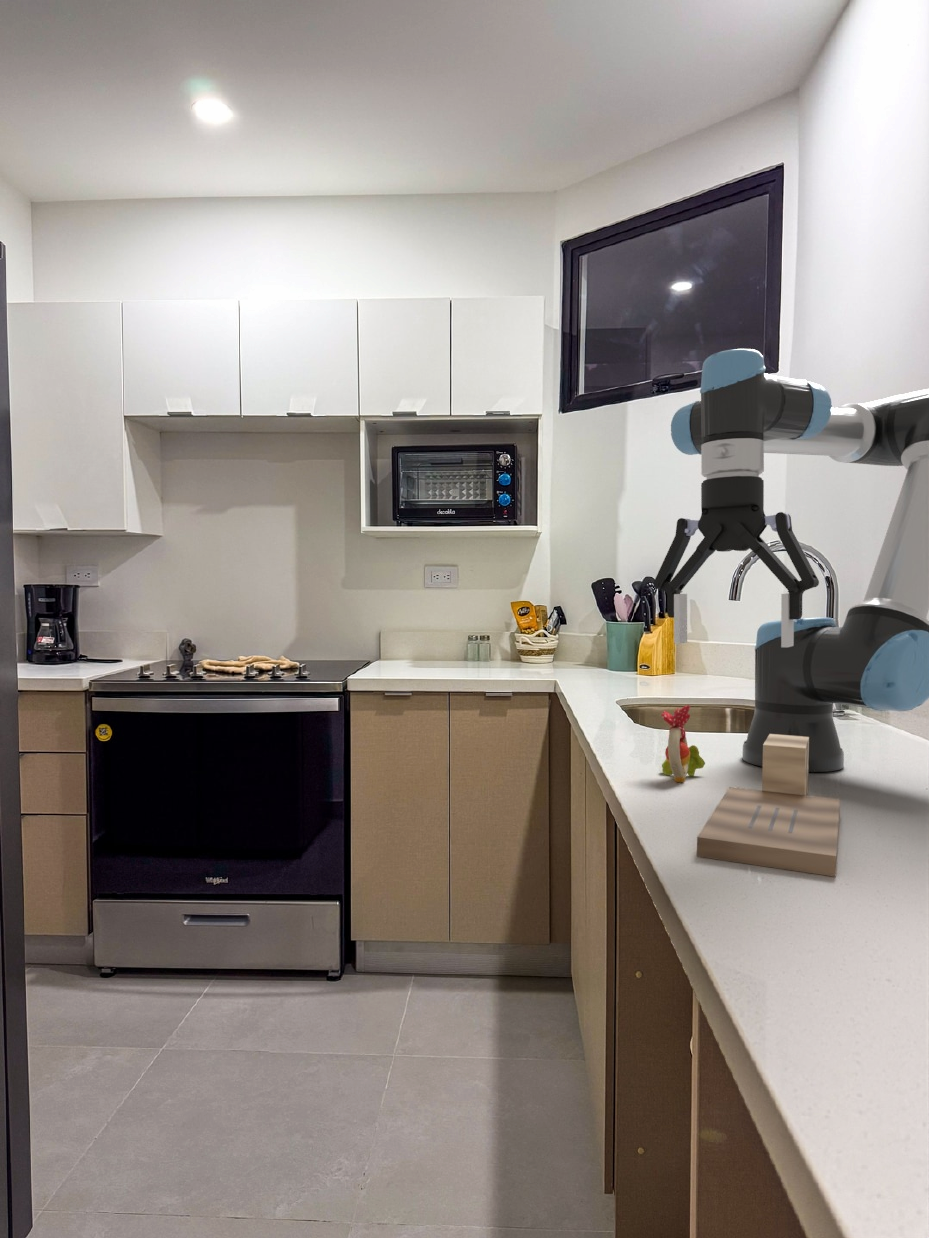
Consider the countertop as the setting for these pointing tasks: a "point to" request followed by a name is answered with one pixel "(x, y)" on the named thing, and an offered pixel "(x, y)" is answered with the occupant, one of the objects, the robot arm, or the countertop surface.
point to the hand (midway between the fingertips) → (731, 645)
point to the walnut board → (773, 831)
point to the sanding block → (785, 764)
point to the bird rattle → (680, 748)
